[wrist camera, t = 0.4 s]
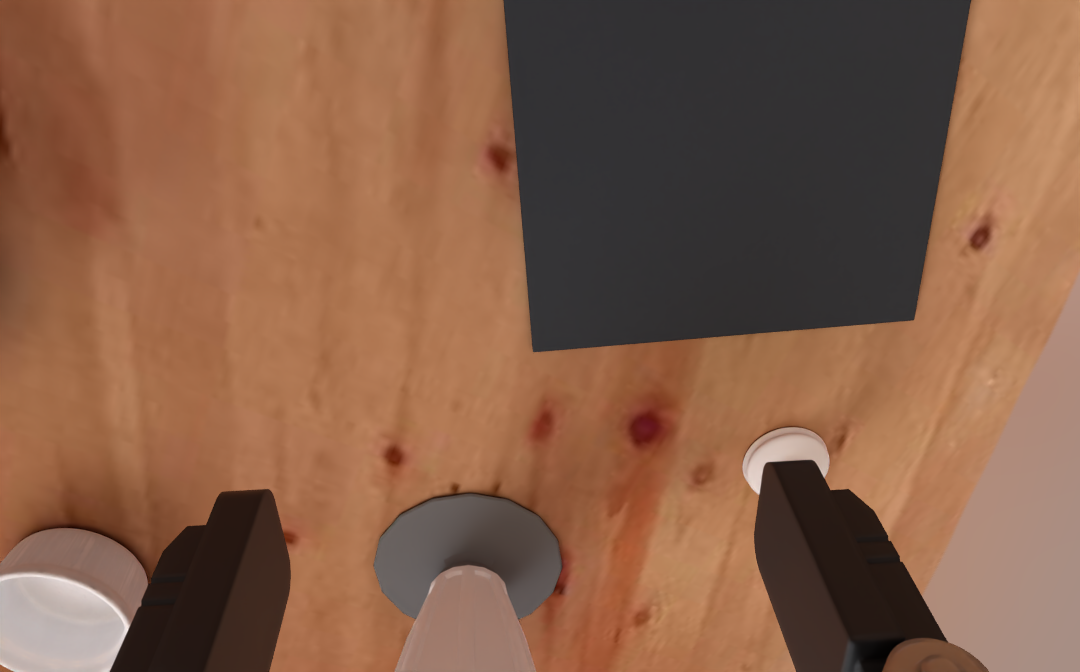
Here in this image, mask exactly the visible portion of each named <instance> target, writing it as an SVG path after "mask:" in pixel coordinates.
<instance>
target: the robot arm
mask: <svg viewBox="0 0 1080 672" xmlns="http://www.w3.org/2000/svg"><path fill="white" fill-rule="evenodd" d="M754 543H755V553H756V559H757V563H758V567H759V570H760V573H761V576H762V579H763V581H764V584H765V587H766V590H767V592H768V595H769V598H770V601H771V603H772V606H773V609H774V612H775V614H776V617H777V620H778V623H779V625H780V628H781V631H782V634H783V636H784V639H785V642H786V645H787V647H788V650H789V653H790V656H791V658H792V661H793V664H794V667H795V669H796V672H989V671H988V669H987V668H986V667H985V666H984V665H983V664H982V663H981V662H980V661H979V660H978V659H976V658H975V657H974V656H973V655H971V654H970V653H968V652H967V651H965V650H964V649H962V648H960V647H958V646H956V645H954V644H951V643H948V641H947V640H946V638H945V637H944V635H943V633H942V631H941V630H940V628H939V626H938V624H937V622H936V621H935V619H934V617H933V615H932V613H931V612H930V610H929V608H928V606H927V605H926V603H925V601H924V599H923V597H922V596H921V594H920V592H919V590H918V589H917V587H916V585H915V583H914V581H913V580H912V578H911V576H910V574H909V572H908V571H907V569H906V567H905V565H904V564H903V562H900V556H899V555H898V553H897V551H896V549H895V548H894V546H893V544H892V542H891V541H889V540H888V535H887V533H886V531H885V530H884V528H883V526H882V524H881V523H880V521H879V519H878V517H877V515H876V514H875V512H874V510H872V509H871V508H870V507H869V506H868V505H867V504H865V503H864V502H863V501H862V500H861V499H860V498H858V497H857V496H856V495H855V494H854V493H853V492H851V491H850V490H849V489H845V490H830V488H829V487H828V485H827V483H826V481H825V479H824V477H823V475H822V473H821V471H820V469H819V467H818V465H817V464H816V463H815V461H813V460H795V461H777V462H767V463H766V464H765V465H764V468H763V473H762V480H761V487H760V494H759V501H758V509H757V516H756V523H755V531H754ZM290 579H291V570H290V559H289V554H288V550H287V546H286V542H285V538H284V534H283V530H282V527H281V523H280V519H279V515H278V511H277V507H276V503H275V499H274V496H273V494H272V492H271V491H270V490H269V489H262V490H245V491H227V492H221V493H220V494H219V496H218V497H217V499H216V502H215V504H214V507H213V509H212V512H211V514H210V517H209V519H208V522H207V524H206V525H201V526H187V527H186V528H185V529H184V530H183V531H182V532H181V533H180V534H179V535H178V536H177V537H176V538H175V539H174V540H173V541H172V543H171V544H170V545H169V546H168V547H167V548H166V549H165V550H164V551H163V553H162V555H161V557H160V559H159V562H158V564H157V566H156V568H155V571H154V573H153V575H152V577H151V584H148V586H147V589H146V591H145V593H144V595H143V598H142V600H141V607H138V609H137V611H136V614H135V616H134V618H133V620H132V623H131V625H130V627H129V629H128V632H127V634H126V636H125V638H124V641H123V643H122V645H121V647H120V650H119V652H118V654H117V656H116V659H115V661H114V663H113V665H112V668H111V670H110V672H269V670H270V666H271V663H272V659H273V655H274V651H275V647H276V643H277V639H278V635H279V631H280V627H281V624H282V620H283V616H284V612H285V608H286V604H287V600H288V596H289V590H290Z"/></svg>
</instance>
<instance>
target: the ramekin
mask: <svg viewBox="0 0 1080 672" xmlns="http://www.w3.org/2000/svg"><path fill="white" fill-rule="evenodd" d="M147 586H148V580H147V576H146V573H145V571H144V569H143V567H142V565H141V564H140V562H139V561H138V560H137V559H136V557H135V556H134V555H133V554H132V553H131V552H130V551H129V550H127V549H126V548H125V547H123V546H122V545H120V544H119V543H117V542H115V541H114V540H112V539H110V538H108V537H105V536H103V535H100V534H97V533H94V532H91V531H87V530H81V529H73V528H56V529H49V530H44V531H40V532H37V533H34V534H32V535H30V536H28V537H26V538H25V539H23V540H22V541H21V542H19V543H18V544H17V545H16V546H15V547H14V548H13V549H12V550H11V551H10V552H9V554H8V555H7V556H6V557H5V558H4V560H3V561H2V562H1V563H0V665H2V666H4V667H6V668H8V669H10V670H12V671H15V672H110V670H111V668H112V665H113V663H114V661H115V659H116V656H117V654H118V652H119V650H120V647H121V645H122V643H123V641H124V638H125V636H126V634H127V632H128V629H129V627H130V625H131V623H132V620H133V618H134V616H135V614H136V611H137V609H138V607H141V600H142V598H143V595H144V593H145V591H146V589H147Z"/></svg>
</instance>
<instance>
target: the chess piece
mask: <svg viewBox="0 0 1080 672" xmlns="http://www.w3.org/2000/svg"><path fill="white" fill-rule="evenodd" d="M795 460H813V461H815V463H816V464H817V465H818V467H819V469H820V471H821V473H822V475H823V477H824V478H825V476H826V474H827V472H828V469H829V463H830V460H829V454H828V451H827V448H826V445H825V443H824V441H823V440H822V439H821V438H820V437H819V436H818V435H817V434H816V433H814V432H812V431H810V430H807V429H804V428H798V427H787V428H781V429H777V430H774V431H771V432H769V433H767V434H765V435H764V436H762V437H760V438H759V439H758V440H757V441H755V442H754V443H753V444H752V446H751V447H750V448H749V449H748V451H747V453H746V455H745V457H744V460H743V474H744V477H745V479H746V481H747V482H748V483H749V485H750V487H751V488H752V489H753V490H754V491H755V492H756V493H757V494H760V487H761V480H762V473H763V468H764V465H765V464H766V463H767V462H777V461H795Z"/></svg>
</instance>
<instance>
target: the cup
mask: <svg viewBox="0 0 1080 672" xmlns="http://www.w3.org/2000/svg"><path fill="white" fill-rule="evenodd" d="M374 569H375V572H376V575H377V578H378V581H379V584H380V587H381V590H382V592H383V593H384V594H385V595H386V596H387V597H388V598H389V599H390V600H391V601H392V602H393V603H394V604H395V605H396V606H397V607H398V608H399V609H400V610H401V611H402V612H403V613H404V614H406V615H408V616H410V617H412V618H414V619H416V620H415V622H414V625H413V627H412V629H411V631H410V633H409V635H408V637H407V639H406V642H405V645H404V647H403V650H402V653H401V656H400V658H399V661H398V664H397V666H396V669H395V672H536V669H535V666H534V663H533V659H532V656H531V653H530V650H529V647H528V643H527V640H526V637H525V635H524V632H523V630H522V628H521V625H520V623H519V620H518V619H520V618H523V617H525V616H527V615H529V614H531V613H532V612H533V611H534V610H535V609H536V608H537V607H538V606H539V605H541V604H542V603H543V602H544V601H545V600H546V599H547V598H548V597H549V596H550V595H551V594H552V593H553V591H554V588H555V586H556V583H557V580H558V578H559V575H560V572H561V569H562V561H561V556H560V550H559V544H558V540H557V539H556V537H555V536H554V535H553V533H552V532H551V531H550V530H549V528H548V527H547V526H546V525H545V523H544V522H543V521H542V520H541V518H540V517H539V516H538V515H536V514H534V513H532V512H530V511H528V510H527V509H525V508H523V507H521V506H519V505H517V504H515V503H514V502H512V501H510V500H508V499H503V498H497V497H491V496H485V495H479V494H473V493H468V494H461V495H454V496H447V497H440V498H433V499H431V500H429V501H427V502H425V503H423V504H421V505H419V506H417V507H415V508H413V509H411V510H409V511H407V512H405V513H403V514H401V515H400V516H399V517H398V518H397V519H396V521H395V522H394V523H393V524H392V525H391V526H390V527H389V529H388V530H387V531H386V532H385V533H384V534H383V536H382V537H381V538H380V540H379V544H378V548H377V553H376V557H375V562H374Z"/></svg>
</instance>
